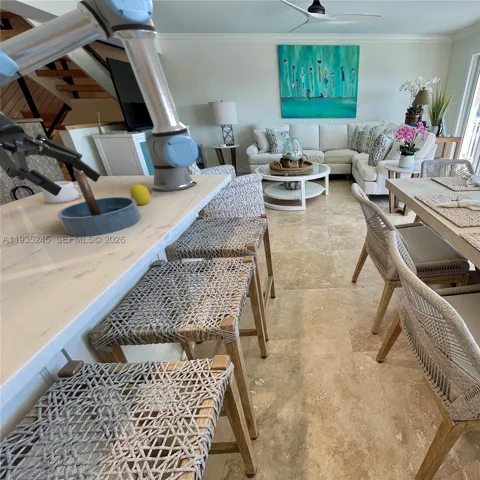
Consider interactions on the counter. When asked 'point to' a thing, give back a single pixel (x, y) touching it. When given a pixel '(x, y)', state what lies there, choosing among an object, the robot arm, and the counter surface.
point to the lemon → (140, 194)
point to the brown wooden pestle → (87, 192)
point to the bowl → (99, 216)
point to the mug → (62, 193)
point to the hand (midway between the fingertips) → (80, 184)
